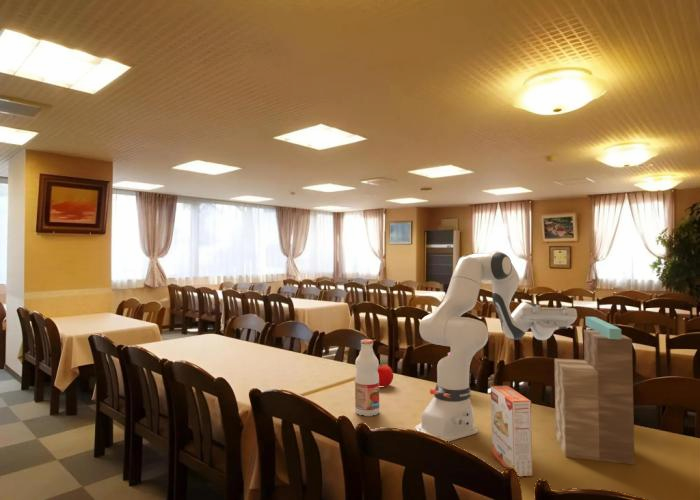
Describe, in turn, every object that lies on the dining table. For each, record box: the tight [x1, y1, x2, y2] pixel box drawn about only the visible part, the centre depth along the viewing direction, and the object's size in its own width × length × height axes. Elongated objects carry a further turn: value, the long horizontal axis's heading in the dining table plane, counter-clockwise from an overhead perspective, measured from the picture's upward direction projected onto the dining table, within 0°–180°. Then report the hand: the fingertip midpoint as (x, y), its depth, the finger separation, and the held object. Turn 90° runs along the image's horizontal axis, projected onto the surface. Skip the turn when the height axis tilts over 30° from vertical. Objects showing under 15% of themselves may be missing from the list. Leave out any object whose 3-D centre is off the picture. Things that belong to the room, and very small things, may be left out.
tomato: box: [377, 363, 394, 387], centre depth 197 cm, size 12×12×10 cm
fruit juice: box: [354, 338, 380, 417], centre depth 164 cm, size 9×9×28 cm
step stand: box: [553, 329, 635, 465], centre depth 131 cm, size 15×18×36 cm
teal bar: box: [584, 316, 622, 339], centre depth 134 cm, size 26×3×3 cm, turn 164°
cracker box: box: [490, 385, 534, 478], centre depth 121 cm, size 14×6×21 cm, turn 5°
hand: (551, 306), depth 165 cm, fingers open, 8 cm apart
